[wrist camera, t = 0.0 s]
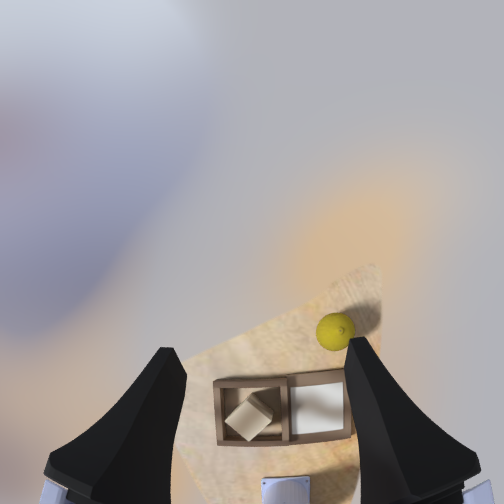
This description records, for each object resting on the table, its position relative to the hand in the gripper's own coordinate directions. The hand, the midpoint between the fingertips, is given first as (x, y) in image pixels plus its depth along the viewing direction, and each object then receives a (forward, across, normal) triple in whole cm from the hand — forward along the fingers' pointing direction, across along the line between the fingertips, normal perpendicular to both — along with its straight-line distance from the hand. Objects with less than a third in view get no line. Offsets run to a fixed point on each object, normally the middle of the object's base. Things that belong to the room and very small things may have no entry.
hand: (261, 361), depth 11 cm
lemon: (+22, -8, +24) cm, 33 cm away
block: (+13, +5, +31) cm, 34 cm away
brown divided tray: (+13, 0, +31) cm, 34 cm away
